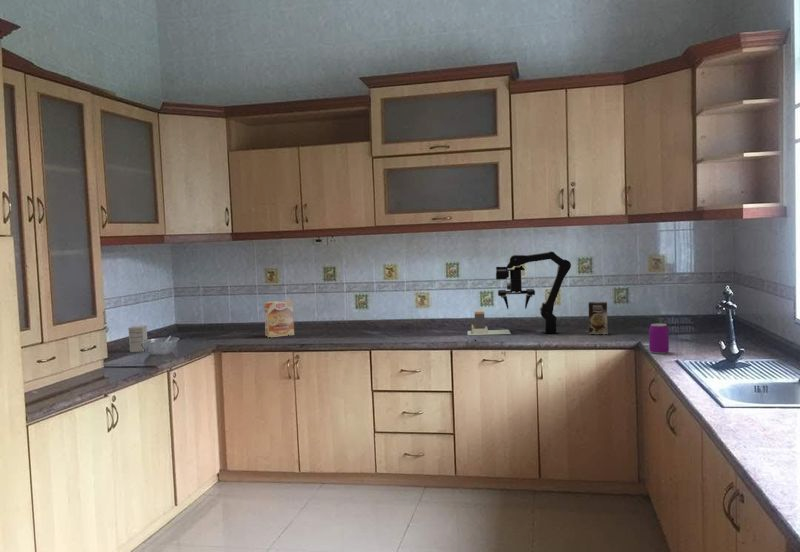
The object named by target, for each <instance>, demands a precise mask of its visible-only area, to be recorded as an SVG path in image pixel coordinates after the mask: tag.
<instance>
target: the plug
mask: <svg viewBox="0 0 800 552" xmlns="http://www.w3.org/2000/svg"><path fill="white" fill-rule="evenodd" d="M473 313H474V327H475V329H485V327H486V325H485V323H486V322H485V321H486V320H485V311H484V310H477V311H473Z"/></svg>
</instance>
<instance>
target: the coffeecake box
mask: <svg viewBox="0 0 800 552" xmlns="http://www.w3.org/2000/svg"><path fill="white" fill-rule="evenodd" d="M293 302H294V301H293V300H290V299H287V300H276V301H266V302H263V312H264V329H265V330H264V333H265V337H266V336H267V338H269V337H271V338H278V337H288V335H289V336H295V323H294V321H295V320H294V304H293Z"/></svg>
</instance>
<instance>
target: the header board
mask: <svg viewBox="0 0 800 552" xmlns="http://www.w3.org/2000/svg"><path fill="white" fill-rule="evenodd" d="M509 334H510V335H511V332H510V330H509V329H495V330H494V329H492V330H491V329H490V330H489V329H488V326H485V329H475V326H474V324H471V330H467V335H468V336H477V335H478V336H479V335H480V336H481V335H485V336H486V335H509Z"/></svg>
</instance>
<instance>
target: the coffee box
mask: <svg viewBox="0 0 800 552" xmlns="http://www.w3.org/2000/svg"><path fill="white" fill-rule="evenodd" d="M589 334H607V335H608V302H607V301H589V302H588V335H589Z"/></svg>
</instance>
